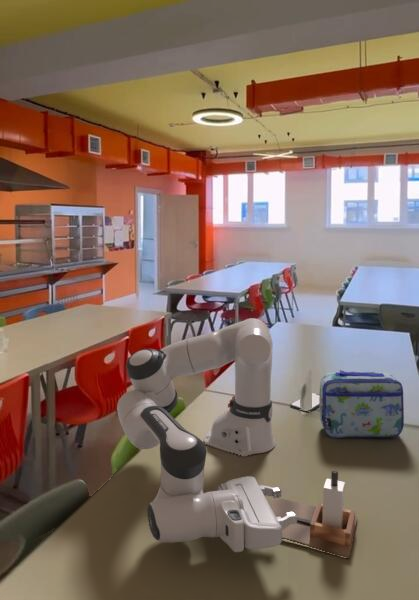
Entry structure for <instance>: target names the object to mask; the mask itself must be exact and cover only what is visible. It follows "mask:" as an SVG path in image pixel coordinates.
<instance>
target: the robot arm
mask: <svg viewBox="0 0 419 600" xmlns="http://www.w3.org/2000/svg"><path fill="white" fill-rule="evenodd" d="M273 349H274V348H273V339H272V335H271V333H270V328H269V327H268V326H267V324H266V323H265V322H264V321H262V320H261V319H258V318H255V317H253V318H252V317H250V318H246V319H244V320H242V321H238V322H236V323H232V324H230V325H227V326H225V327H223V328H219V329H217V330H214V331H211V332H209V333H204V334H199V335H197V336H192V337H189V338H188V337H187V338H186V339H182V340H179V341H176V342H173V343H171V344H169V345H166V346H165V347H162V348H160V349H154V348H141V349H139V350H137V351H135V352H133V353H132V354H131V355H130V356H129V358H128V359H127V360H126V365H125V367H126V372H127V377H129V379H130V382H131V384H132V387H133V390H130V391H129V390H128V391H127V392H125V393H123V394H122V396H121V397H120V398H119V399H118V401H117V405H116V407H117V408H116V409H117V416H118V419H119V422H120V425H121V428H122V429H123V432H124V434H125V435H126V437H127V439H128V441H129V442H130V443H131V445H133V446H134V447H135V448H137V449H141V450H151V449H153V448H156V447H157V446H159V458H160V486H159V489H158V492H157V494H156V496H155V497H154V499H153V501H151V502H149V503H148V506H147V520H148V526H149V531H150V532H151V533H150V534H151V535H152V537H153V539H154V540H156V541H158V542H160V543H183V542H191V541H195V540H198V539H200V538H204V537H206V538H207V537H209V538H220V539H221V540H222V541H223V542H224V543H225V544H226V545H228V547H229V548H230V549H231V550H232V551H233V552H234V553H242V552H243V551H244V550H245V548H246V549H249V550H262V549H268V548H275V547H278V546H279V545H280V544H282V542H283V541H282V530H283V529H285V528H286V527H287V526H289V525H291V524H296V523H297V516H296V515H295V513H294V512H291V513H290V512H289V513H287V516H285V517H283V518H281V517H276V516H275V514H274V512H273V510H272V509H271V507H270V505H271V504H270V503H269V501H268V499H267V498H266V496H267V497H272V498H273V499H274V498H281V497H282V491H281V488H280V487H278V486H275V487H272V486H268V485H265V484H263V485H259V483H258V481H257V479H256V477H255V476H252V475H251V476H250V475H247V476H241V477H237V478H232V479H229V480H227V481H226V482H224V483H221V484H220V485H219V486H218V487H217V490H213V491H207V492H204V484H205V482H204V481H205V466H206V465H205V464H206V459H207V446H209V445H210V446H209V447H212V446H213V447H212V448H216V449H218V450H221V451H224V452H228V453H230V452H231V454H233V453H235V454H234V455H236V454H238V455H237V456H240V455H241V456H240V457H248V455H249V456H252V455H256V454H257V455H258V454H262V453H266V452H269V451H271V450H272V449H274V448H275V447H276V441H275V437H274V433H273V427H272V425H273V424H272V418H273V400H272V399H271V398H272V397H271V396H272V395H271V393H272V391H271V390H272V386H271V385H272V367H273V366H272V365H273ZM233 361H234V395H232V397H231V399H230V400H229V402H228V403H227V408H228V409H227V410H226V411H224V412H223V413H221V414H219V415H218V416H217V417H216V418H215V419H214V421H213V423H212V426H211V429H209V430H208V431H207V432H206V434H205V435H204V438H203V440H201V439H200V438H199V437H198V436H197V435H195V434H194V433H191V432H190V431H188V430H187V429H185V428H184V427H183V425H181V423H179V422H178V421H177V420H176V419H175V417H174V416H173V415H172V414H171V413H172V412H173V411H174V409H175V408H176V407H177V405H178V403H179V402H178V401H179V400H178V399H179V398H178V391H177V390H176V388H175V385H174V382H173V380H174V379H176V378H177V377H182V376H183V377H184V376H191V375H195V374H199V373H204V372H207V371H212V370H215V369H221V368H222V367H224V366H225V365H227V364H229V363H231V362H233ZM204 442H205V443H204ZM206 444H208V445H207V446H206Z"/></svg>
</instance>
